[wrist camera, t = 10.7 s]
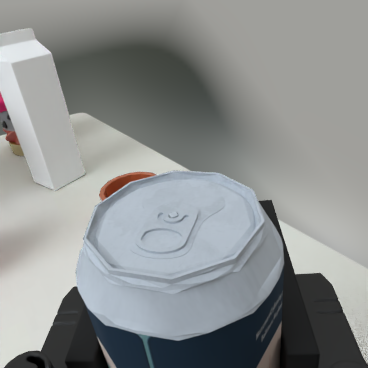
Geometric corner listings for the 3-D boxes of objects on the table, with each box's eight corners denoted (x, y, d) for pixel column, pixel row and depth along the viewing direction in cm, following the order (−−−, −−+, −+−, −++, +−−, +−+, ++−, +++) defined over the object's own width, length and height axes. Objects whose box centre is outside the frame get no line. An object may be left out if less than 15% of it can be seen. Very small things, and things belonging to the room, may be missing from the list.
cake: (36, 133, 76) (11, 62, 68) (76, 135, 72) (54, 60, 65) (-1, 154, 68) (-34, 76, 60) (41, 158, 64) (12, 75, 56)
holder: (181, 205, 46) (177, 182, 44) (133, 239, 41) (127, 214, 39) (140, 188, 51) (135, 166, 49) (93, 216, 46) (86, 192, 44)
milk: (34, 182, 56) (-23, 35, 45) (65, 166, 60) (20, 27, 49) (55, 191, 53) (-1, 35, 42) (87, 174, 57) (44, 26, 45)
